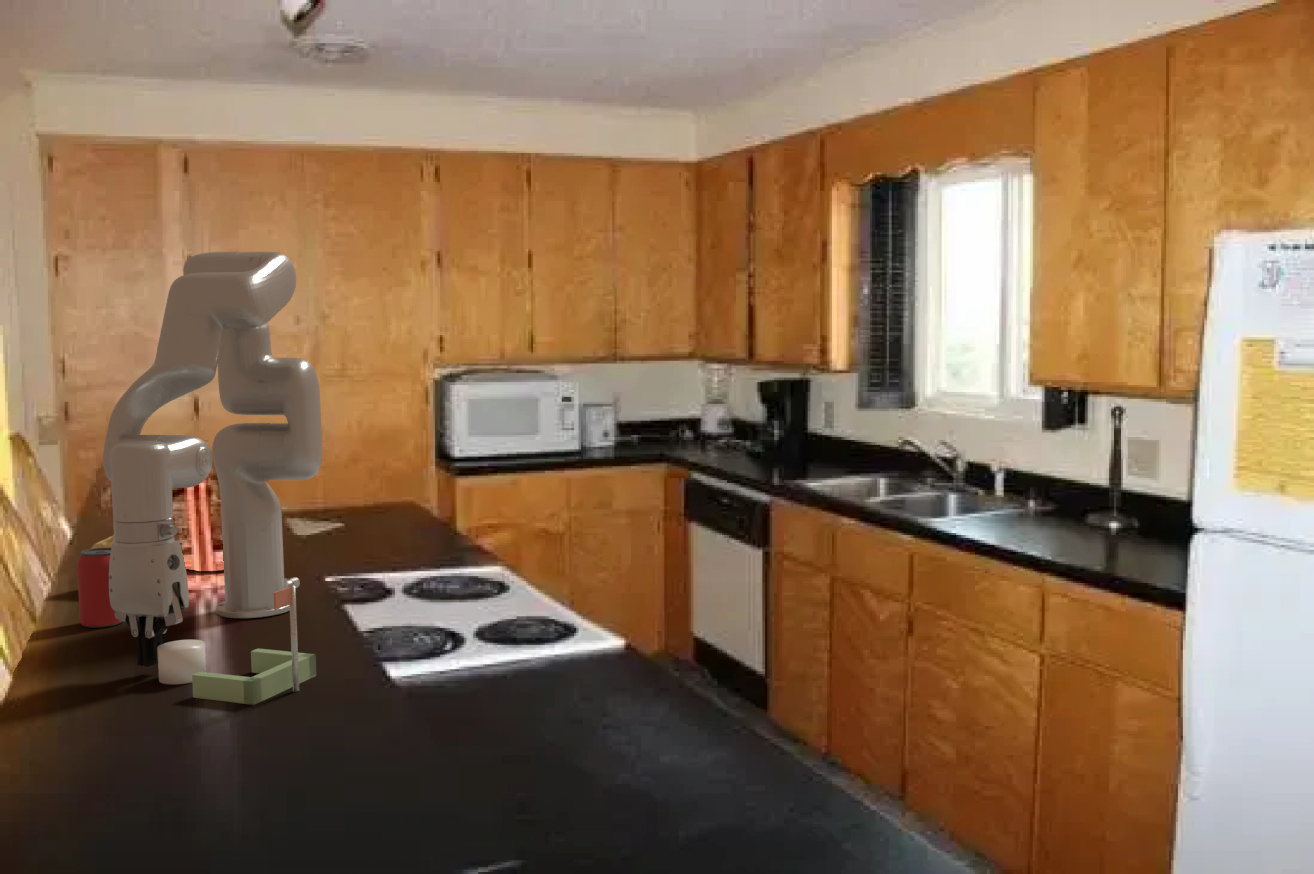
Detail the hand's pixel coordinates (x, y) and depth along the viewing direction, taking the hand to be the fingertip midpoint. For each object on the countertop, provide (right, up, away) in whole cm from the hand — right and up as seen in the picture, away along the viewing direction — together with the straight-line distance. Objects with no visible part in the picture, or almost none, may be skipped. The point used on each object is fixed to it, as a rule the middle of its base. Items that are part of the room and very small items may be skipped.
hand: (150, 663), depth 161 cm
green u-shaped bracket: (+17, -2, -6) cm, 18 cm away
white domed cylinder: (+5, -2, -1) cm, 5 cm away
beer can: (-20, +1, +28) cm, 35 cm away
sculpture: (-27, +3, +54) cm, 60 cm away
